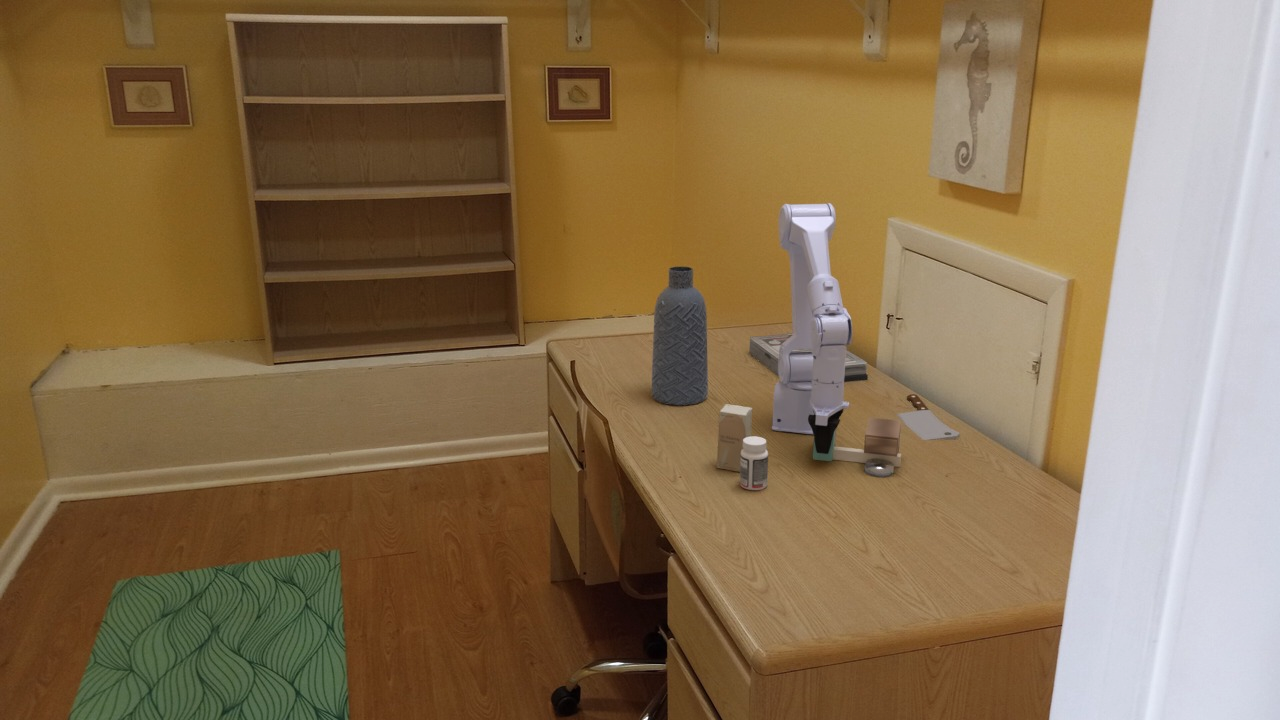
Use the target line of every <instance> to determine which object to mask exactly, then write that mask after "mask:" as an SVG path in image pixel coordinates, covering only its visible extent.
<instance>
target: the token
mask: <svg viewBox="0 0 1280 720" xmlns="http://www.w3.org/2000/svg"><path fill="white" fill-rule="evenodd" d="M894 470H895V467H894V464H893V463H892V462H890V461H887V460H883V459H870V460H867V461H866V462H865V463H864V472H865V474H867V475H869V476H871V477H877V478H887V477H891V476H892V475H893V474H894Z"/></svg>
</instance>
